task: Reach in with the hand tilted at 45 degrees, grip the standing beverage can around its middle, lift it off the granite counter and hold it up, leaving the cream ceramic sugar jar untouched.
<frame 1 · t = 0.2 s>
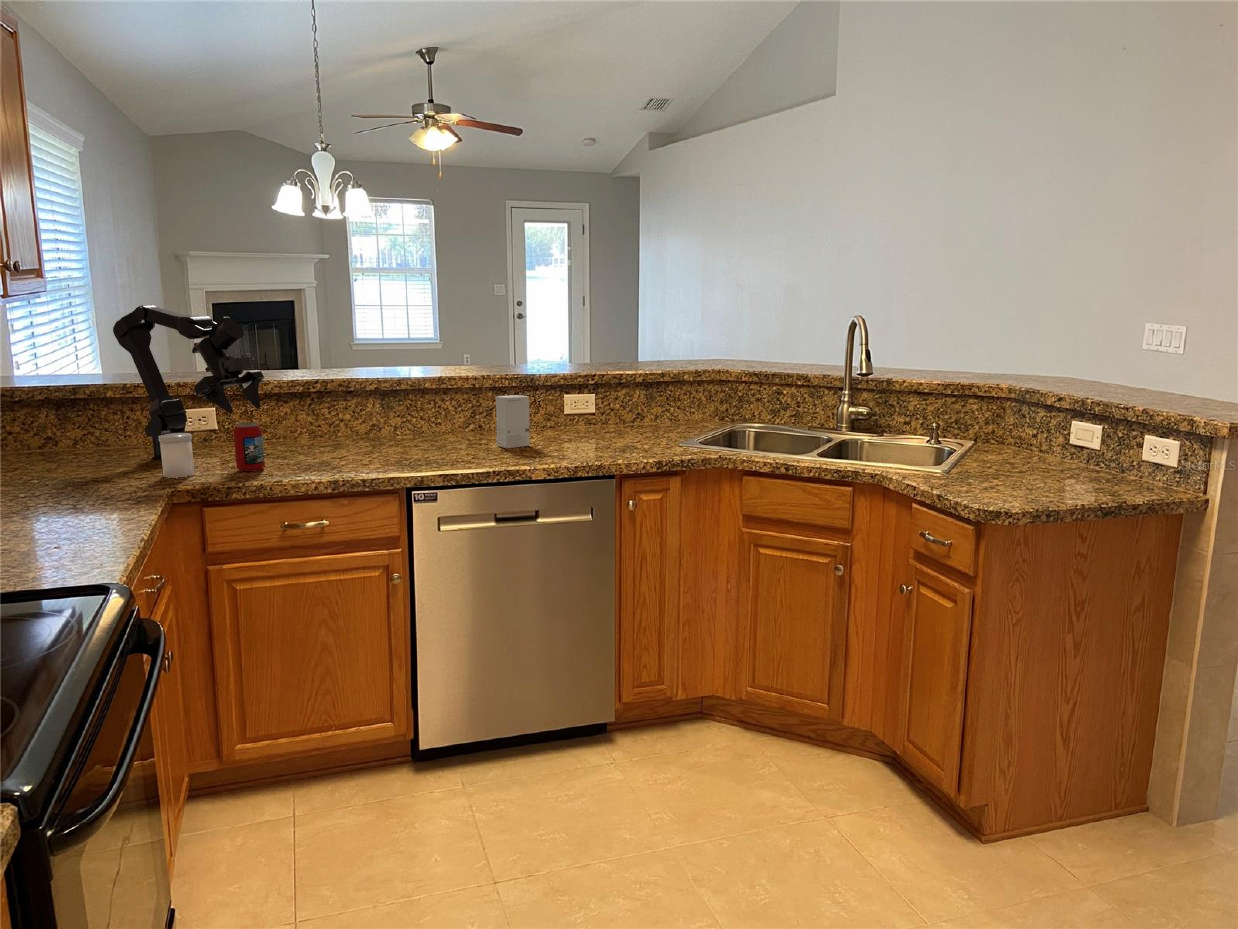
hand: (245, 410, 234), 15 cm above the worktop, tool tilted 35°, fingers open, 9 cm apart
beverage can: (251, 470, 232), on the worktop
skincare box: (513, 446, 263), on the worktop
sugar jar: (179, 475, 225), on the worktop
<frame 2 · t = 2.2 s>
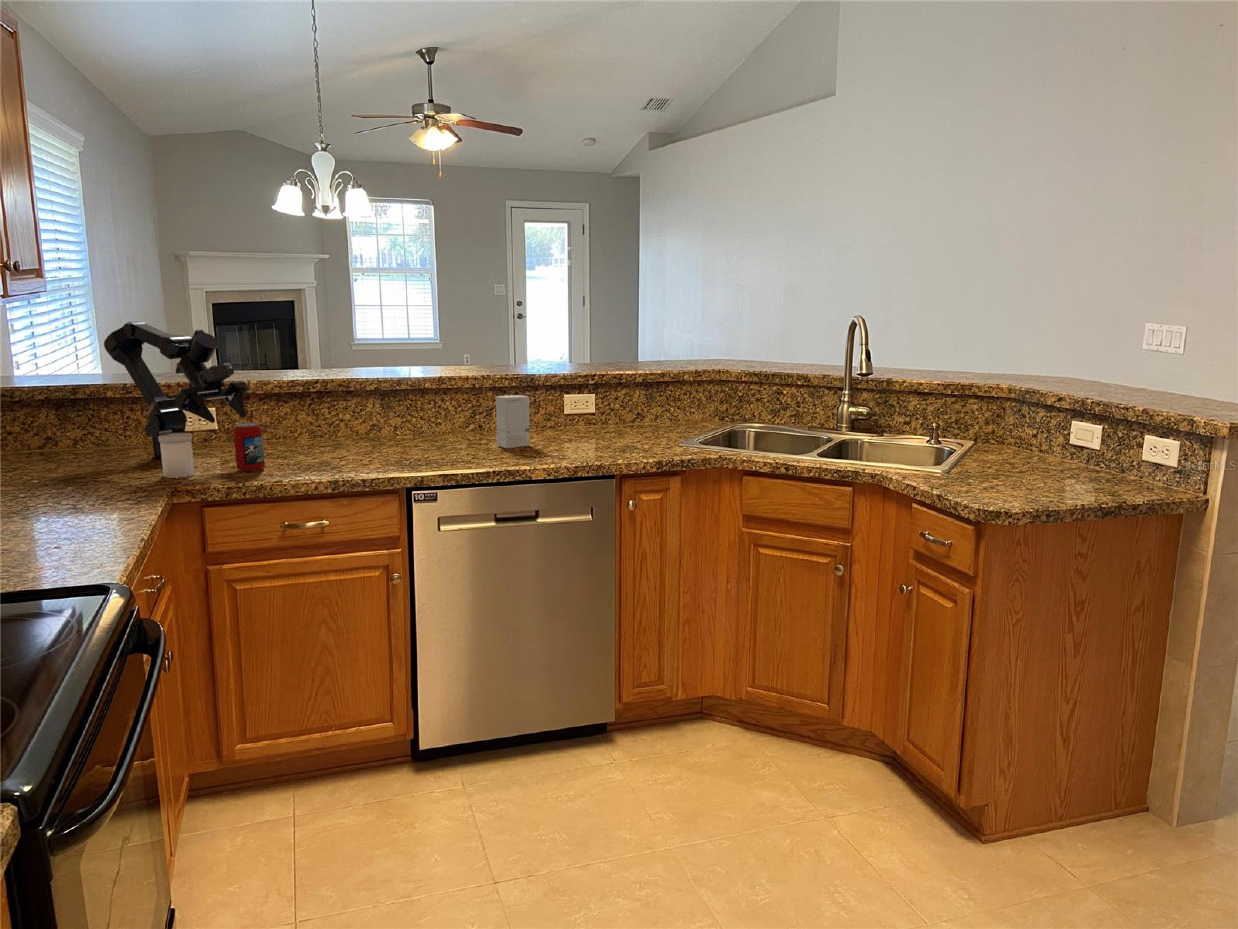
hand: (229, 419, 232), 13 cm above the worktop, tool tilted 45°, fingers open, 9 cm apart
nothing on the worktop moved.
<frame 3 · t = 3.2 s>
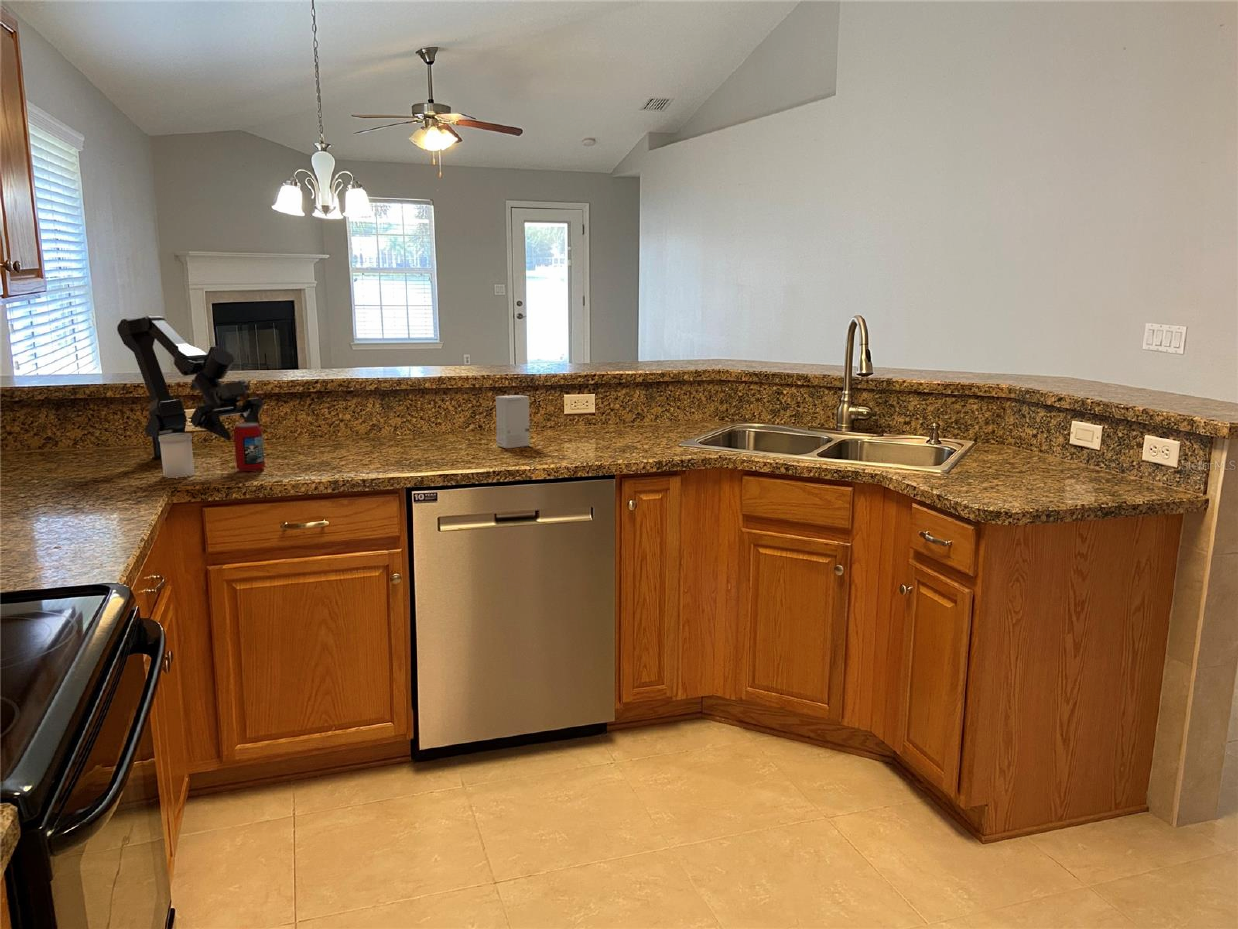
hand: (245, 436, 230), 9 cm above the worktop, tool tilted 45°, fingers open, 9 cm apart
nothing on the worktop moved.
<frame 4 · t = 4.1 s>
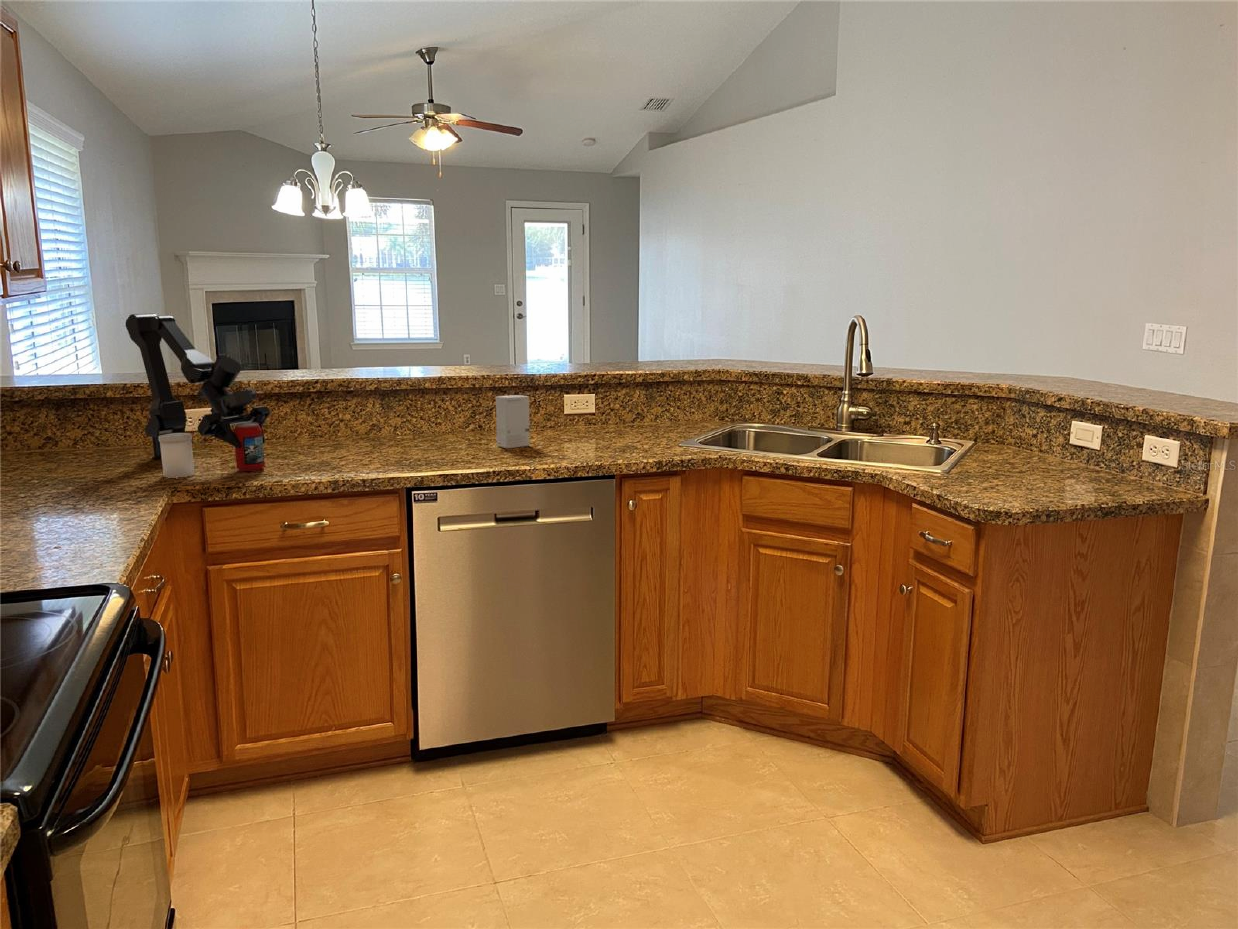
hand: (252, 445, 230), 7 cm above the worktop, tool tilted 45°, fingers closed on beverage can, 7 cm apart
beverage can: (251, 470, 232), on the worktop, touching gripper
everything else where it was.
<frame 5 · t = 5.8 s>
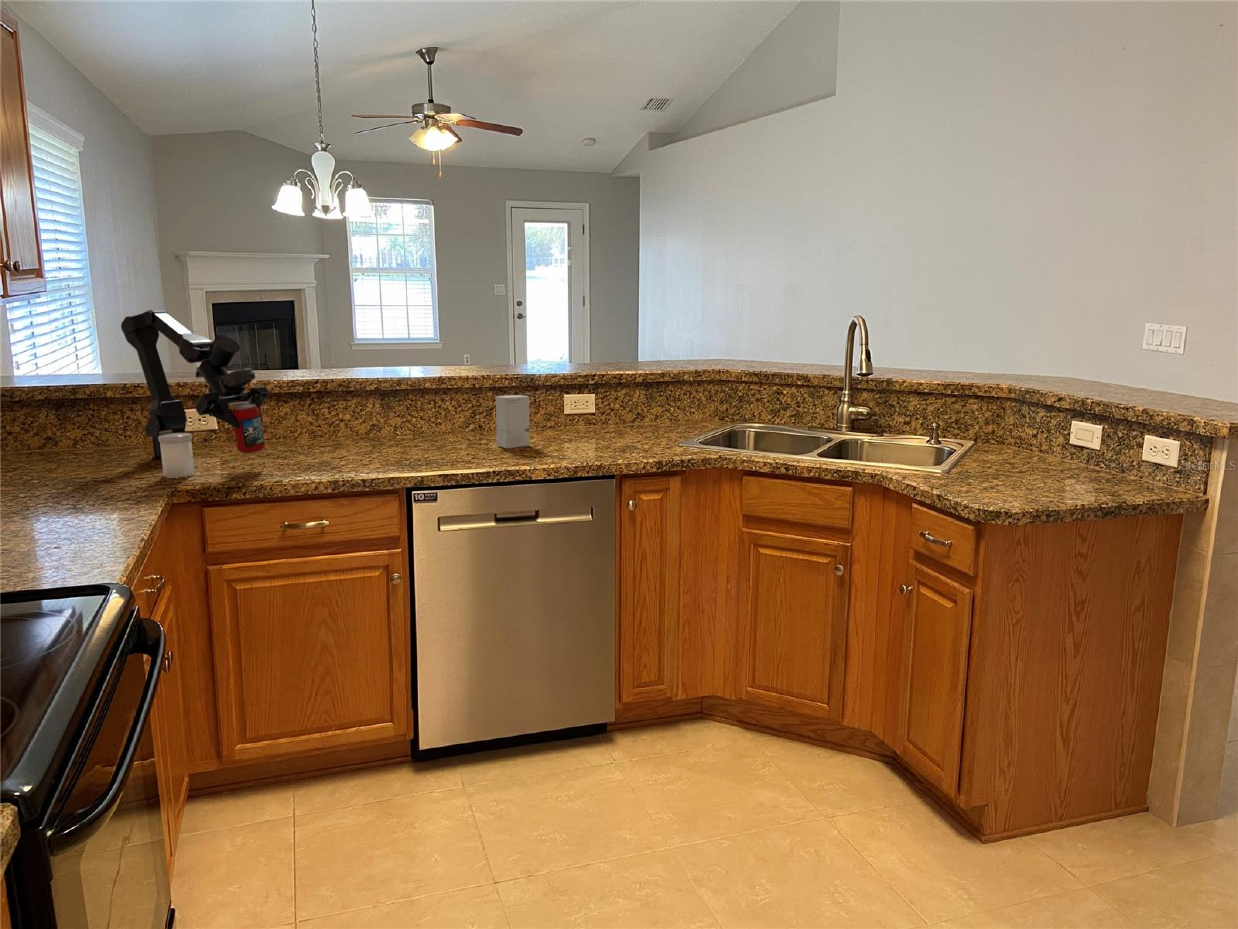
hand: (250, 425, 228), 12 cm above the worktop, tool tilted 45°, fingers closed on beverage can, 6 cm apart
beverage can: (252, 451, 231), point 5 cm above the worktop, touching gripper
everything else where it was.
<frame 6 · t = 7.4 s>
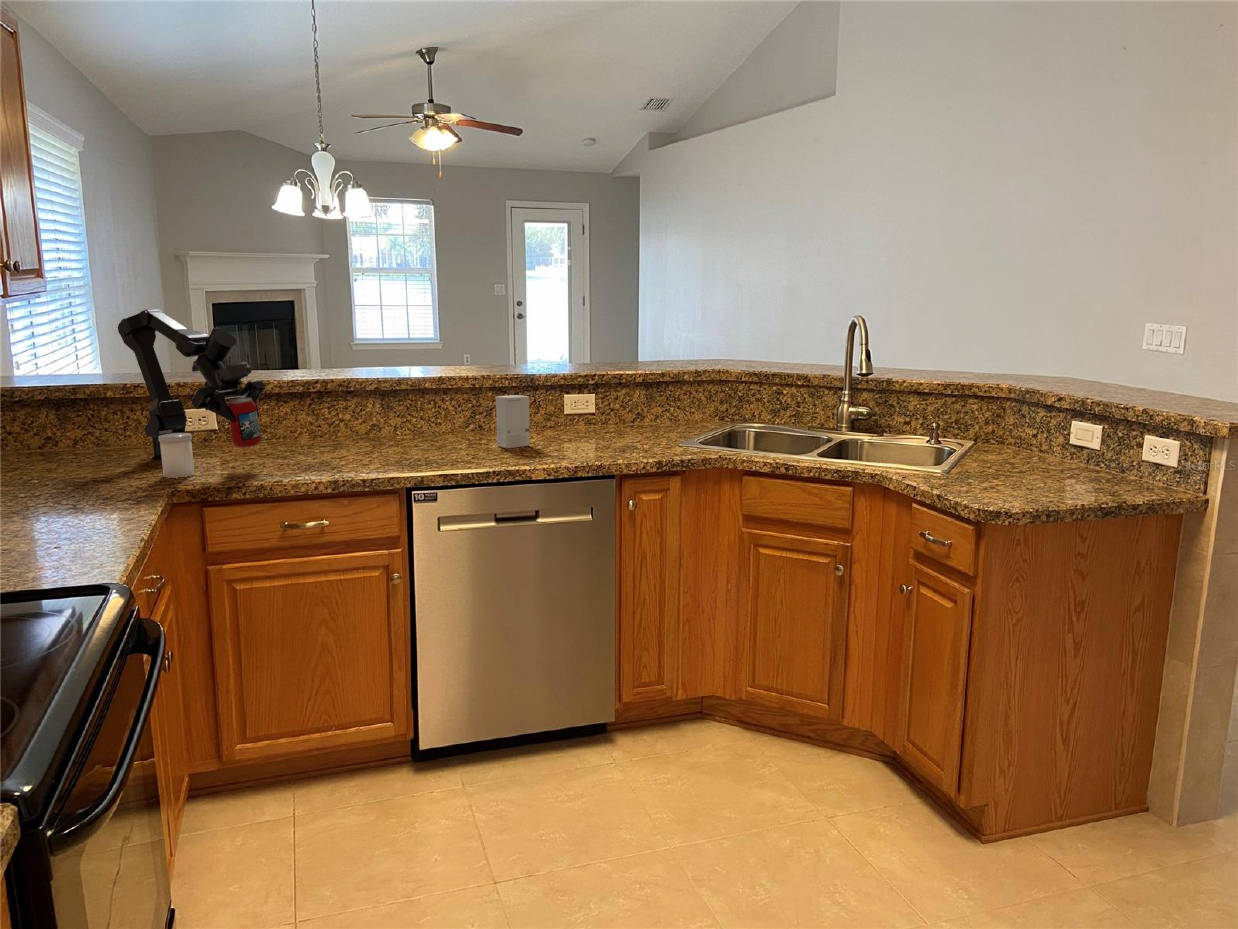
hand: (246, 419, 229), 13 cm above the worktop, tool tilted 45°, fingers closed on beverage can, 6 cm apart
beverage can: (248, 445, 232), point 6 cm above the worktop, touching gripper
everything else where it was.
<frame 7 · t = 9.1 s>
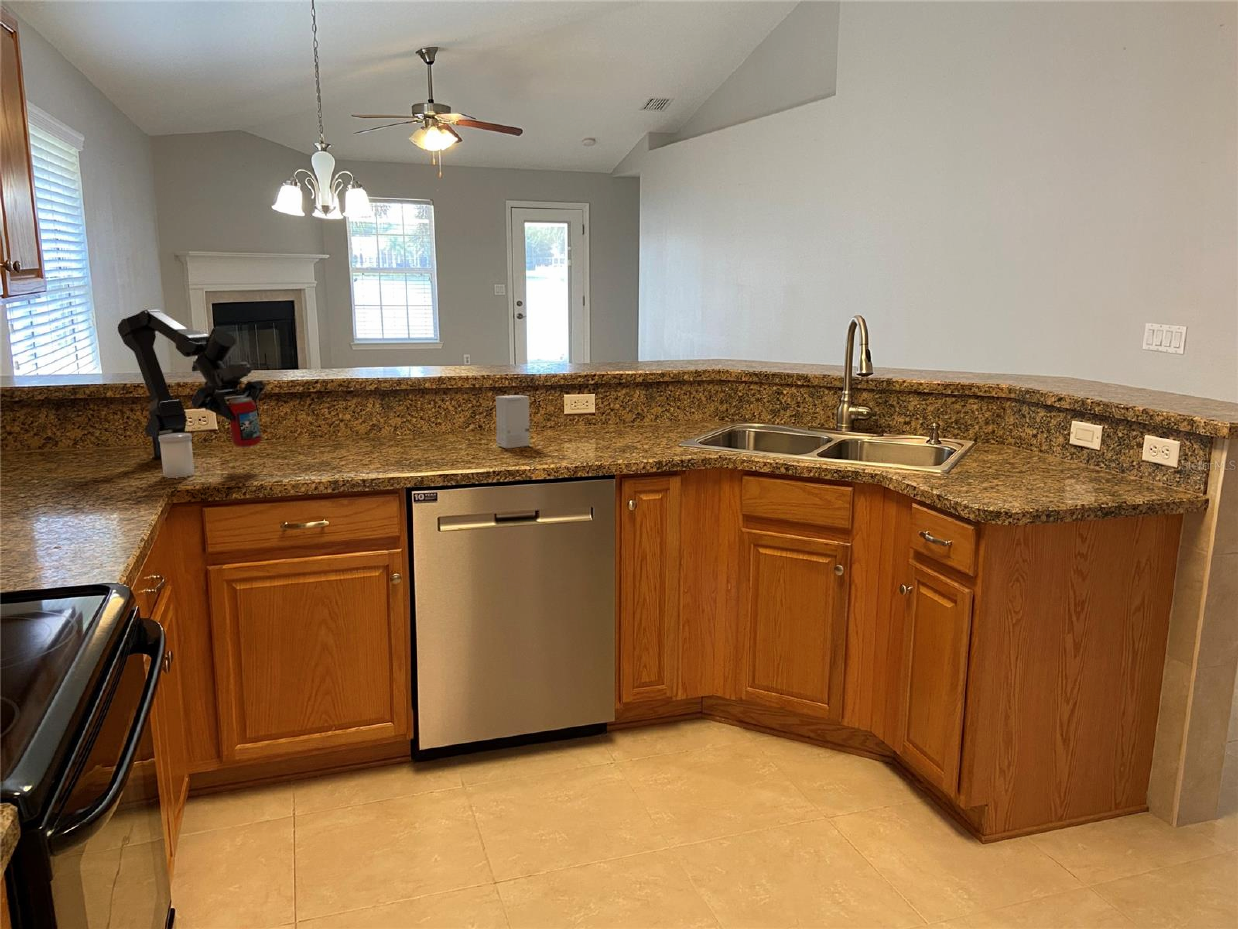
hand: (246, 419, 229), 13 cm above the worktop, tool tilted 45°, fingers closed on beverage can, 6 cm apart
beverage can: (248, 445, 232), point 6 cm above the worktop, touching gripper
everything else where it was.
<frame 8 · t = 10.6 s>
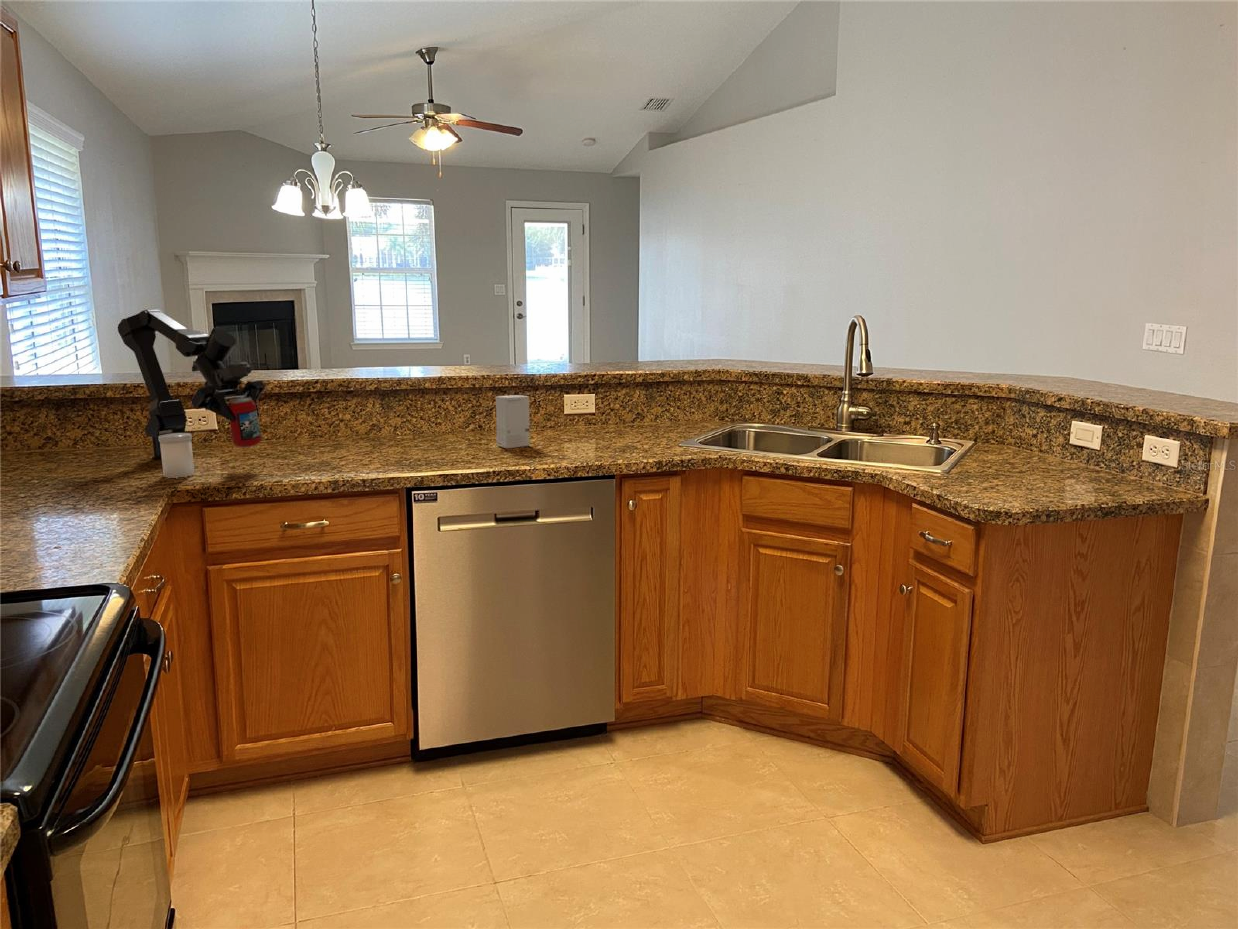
hand: (246, 419, 229), 13 cm above the worktop, tool tilted 45°, fingers closed on beverage can, 6 cm apart
beverage can: (248, 445, 232), point 6 cm above the worktop, touching gripper
everything else where it was.
at the end: the gripper is holding beverage can; beverage can point 6.1 cm above the worktop; beverage can tilted 5° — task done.
